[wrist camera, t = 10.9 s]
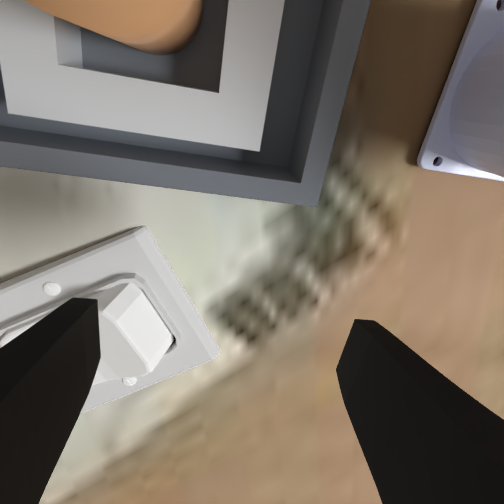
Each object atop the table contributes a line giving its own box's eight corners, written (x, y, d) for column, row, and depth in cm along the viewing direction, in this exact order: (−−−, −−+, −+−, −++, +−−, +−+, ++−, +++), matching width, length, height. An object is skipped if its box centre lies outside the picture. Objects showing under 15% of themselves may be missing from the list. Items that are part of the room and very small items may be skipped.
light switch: (226, 383, 21) (47, 456, 21) (222, 340, 25) (68, 402, 25) (138, 244, 16) (-93, 343, 16) (149, 215, 20) (-40, 297, 20)
